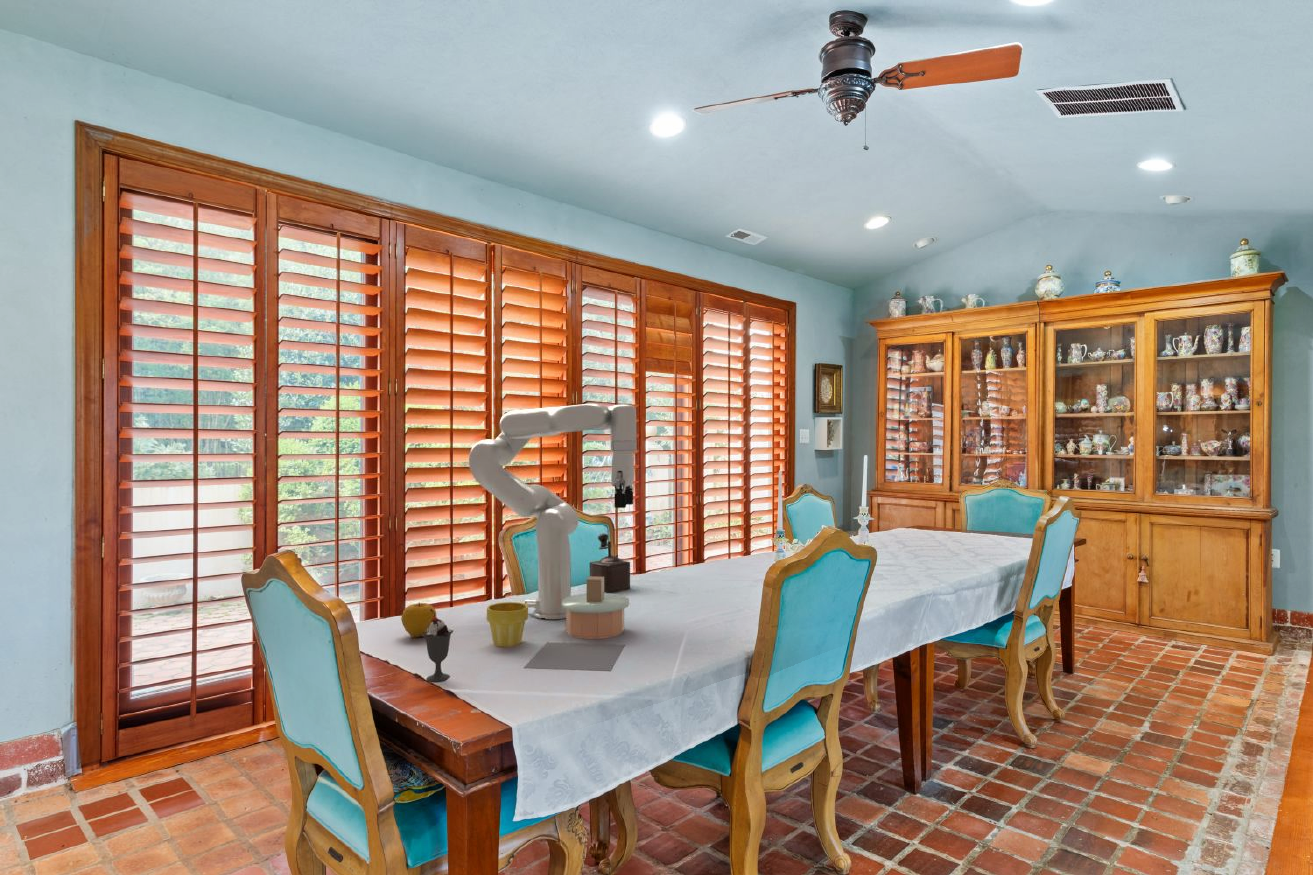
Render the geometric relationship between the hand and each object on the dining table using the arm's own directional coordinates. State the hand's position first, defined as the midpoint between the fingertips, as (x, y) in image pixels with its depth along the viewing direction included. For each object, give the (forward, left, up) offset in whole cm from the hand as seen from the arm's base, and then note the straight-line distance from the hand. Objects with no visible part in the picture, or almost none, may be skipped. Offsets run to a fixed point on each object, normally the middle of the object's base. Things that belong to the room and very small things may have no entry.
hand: (624, 506), depth 208 cm
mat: (-5, -39, -32) cm, 51 cm away
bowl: (-5, -17, -32) cm, 37 cm away
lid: (-5, -17, -25) cm, 30 cm away
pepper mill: (-13, +40, -33) cm, 53 cm away
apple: (-51, -25, -33) cm, 65 cm away
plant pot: (-25, -30, -33) cm, 51 cm away
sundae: (-32, -56, -33) cm, 72 cm away
